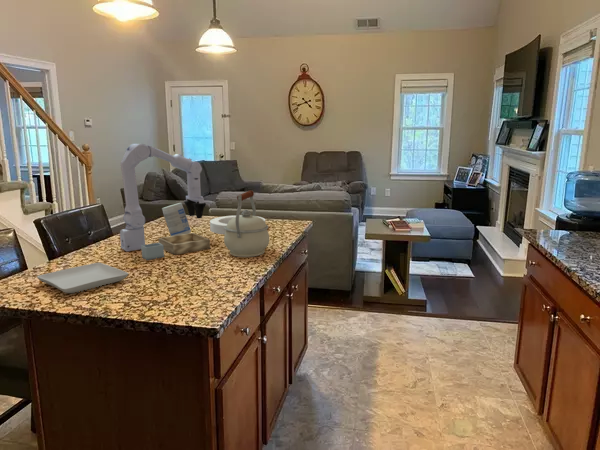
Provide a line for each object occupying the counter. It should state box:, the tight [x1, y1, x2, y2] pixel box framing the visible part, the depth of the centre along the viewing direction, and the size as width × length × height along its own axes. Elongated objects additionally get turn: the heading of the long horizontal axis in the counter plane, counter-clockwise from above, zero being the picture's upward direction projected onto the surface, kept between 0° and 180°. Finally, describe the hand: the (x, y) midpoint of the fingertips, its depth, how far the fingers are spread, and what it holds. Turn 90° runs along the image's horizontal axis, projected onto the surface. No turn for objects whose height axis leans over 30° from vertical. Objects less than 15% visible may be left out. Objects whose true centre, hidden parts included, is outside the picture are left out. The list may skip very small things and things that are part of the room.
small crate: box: [140, 242, 165, 261], centre depth 175 cm, size 7×5×5 cm
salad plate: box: [37, 262, 129, 294], centre depth 146 cm, size 21×21×3 cm
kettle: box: [223, 190, 270, 258], centre depth 181 cm, size 25×18×25 cm
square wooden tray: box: [158, 232, 211, 256], centre depth 190 cm, size 16×16×4 cm
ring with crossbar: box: [209, 214, 266, 235], centre depth 228 cm, size 28×28×5 cm
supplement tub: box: [161, 202, 192, 236], centre depth 207 cm, size 10×10×15 cm
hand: (195, 216), depth 205 cm, fingers open, 7 cm apart
